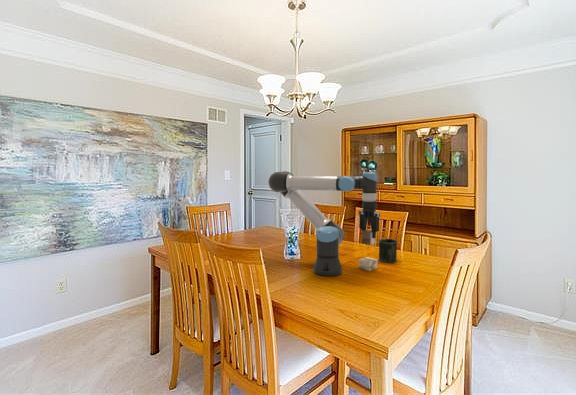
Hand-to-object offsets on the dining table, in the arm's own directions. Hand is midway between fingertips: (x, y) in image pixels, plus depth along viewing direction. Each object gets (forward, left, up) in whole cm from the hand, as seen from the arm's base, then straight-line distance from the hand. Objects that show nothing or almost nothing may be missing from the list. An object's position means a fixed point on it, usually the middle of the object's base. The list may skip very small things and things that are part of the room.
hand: (368, 242), depth 177 cm
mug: (+22, +5, -14) cm, 27 cm away
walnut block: (0, 0, 0) cm, 0 cm away
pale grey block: (0, 0, -14) cm, 14 cm away
